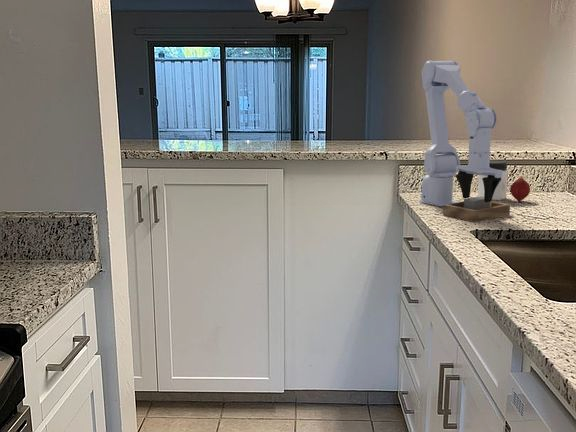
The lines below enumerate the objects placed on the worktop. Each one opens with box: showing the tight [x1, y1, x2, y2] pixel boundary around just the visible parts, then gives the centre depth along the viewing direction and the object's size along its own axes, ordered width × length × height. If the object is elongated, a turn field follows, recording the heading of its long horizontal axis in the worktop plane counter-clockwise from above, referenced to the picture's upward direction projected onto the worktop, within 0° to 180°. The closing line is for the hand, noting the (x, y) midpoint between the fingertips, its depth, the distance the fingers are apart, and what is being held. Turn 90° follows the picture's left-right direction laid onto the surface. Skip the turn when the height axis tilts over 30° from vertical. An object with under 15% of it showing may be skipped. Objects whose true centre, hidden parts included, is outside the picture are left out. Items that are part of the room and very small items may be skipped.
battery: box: [463, 196, 493, 210], centre depth 167 cm, size 4×8×4 cm, turn 123°
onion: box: [509, 176, 531, 202], centre depth 185 cm, size 6×6×8 cm
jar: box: [477, 159, 509, 201], centre depth 191 cm, size 9×8×12 cm
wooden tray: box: [442, 200, 511, 223], centre depth 167 cm, size 12×14×3 cm
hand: (476, 199), depth 166 cm, fingers open, 7 cm apart
